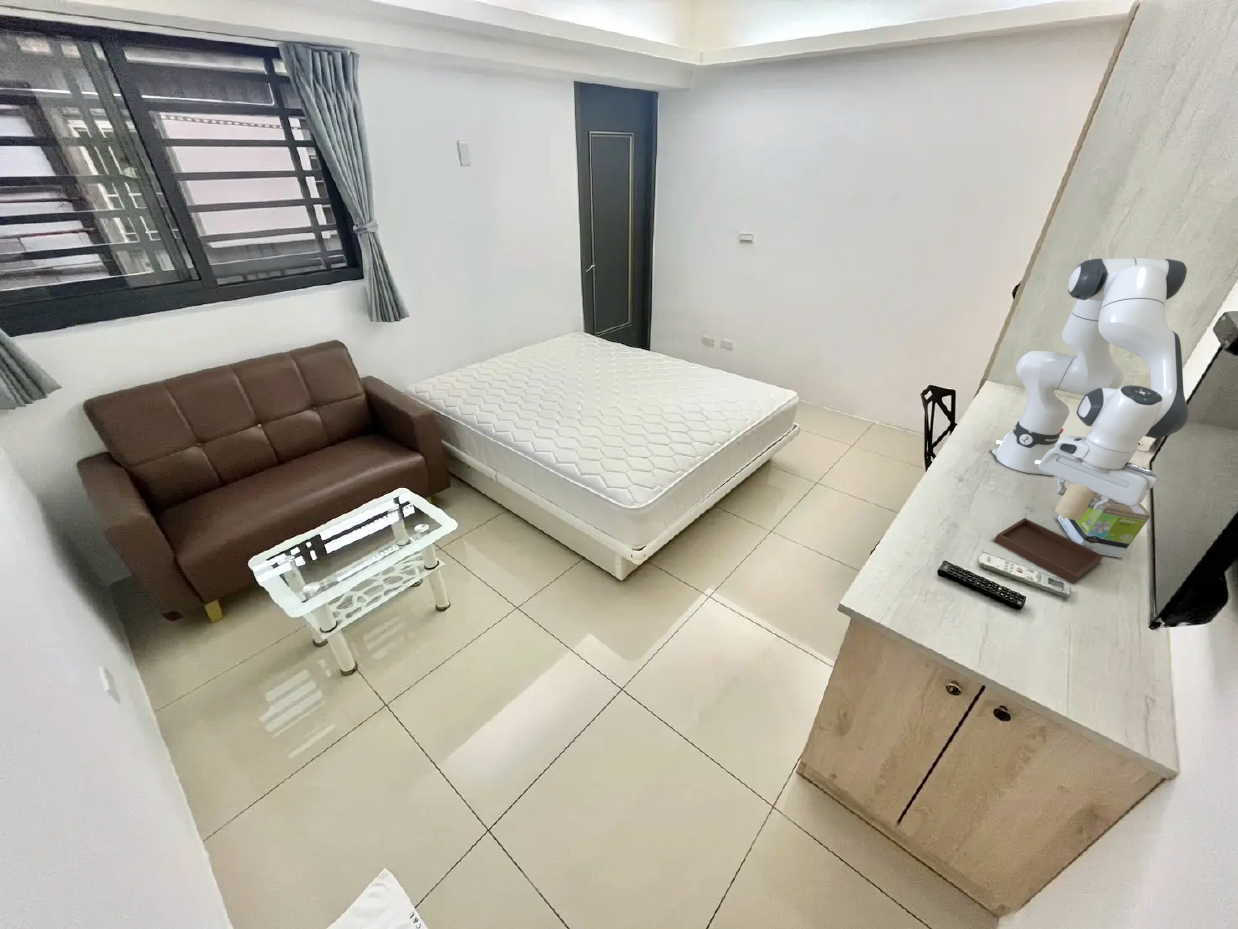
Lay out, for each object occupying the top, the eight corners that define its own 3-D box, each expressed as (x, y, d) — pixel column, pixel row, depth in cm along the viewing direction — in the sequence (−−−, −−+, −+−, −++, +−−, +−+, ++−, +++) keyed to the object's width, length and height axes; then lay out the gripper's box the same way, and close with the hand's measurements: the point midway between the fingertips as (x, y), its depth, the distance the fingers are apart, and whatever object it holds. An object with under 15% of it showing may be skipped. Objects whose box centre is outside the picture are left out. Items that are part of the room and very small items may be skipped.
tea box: (1121, 559, 129) (1153, 515, 121) (1075, 550, 132) (1104, 507, 124) (1096, 525, 141) (1124, 483, 133) (1055, 518, 144) (1080, 477, 136)
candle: (1056, 504, 128) (1075, 473, 122) (1083, 513, 124) (1103, 481, 119) (1052, 513, 124) (1071, 481, 119) (1080, 523, 121) (1101, 490, 116)
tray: (1020, 524, 141) (1024, 517, 140) (1098, 563, 128) (1103, 556, 126) (993, 541, 135) (997, 534, 134) (1072, 583, 122) (1077, 576, 120)
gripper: (1168, 470, 109) (1133, 518, 116) (1061, 433, 124) (1037, 478, 131) (1156, 478, 106) (1122, 527, 113) (1049, 439, 121) (1025, 484, 128)
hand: (1075, 500), depth 122 cm, fingers closed on candle, 5 cm apart
